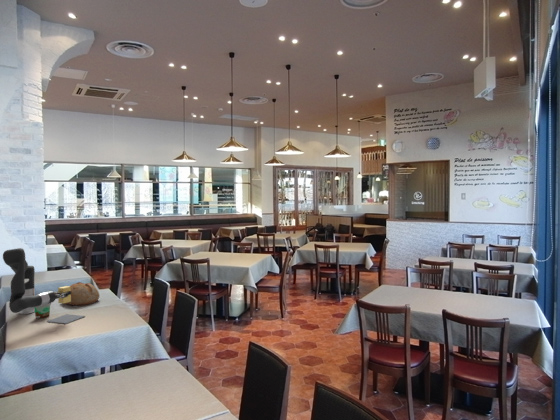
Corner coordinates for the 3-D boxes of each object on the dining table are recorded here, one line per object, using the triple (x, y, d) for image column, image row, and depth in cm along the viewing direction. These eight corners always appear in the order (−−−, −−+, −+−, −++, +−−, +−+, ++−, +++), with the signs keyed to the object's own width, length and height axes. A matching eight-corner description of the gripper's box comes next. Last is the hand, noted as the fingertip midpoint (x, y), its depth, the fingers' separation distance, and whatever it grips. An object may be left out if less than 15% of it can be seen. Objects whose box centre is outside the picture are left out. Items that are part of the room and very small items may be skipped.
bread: (55, 304, 295) (54, 284, 294) (81, 297, 316) (81, 279, 316) (79, 307, 284) (78, 287, 284) (105, 300, 305) (104, 281, 305)
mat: (46, 322, 251) (46, 321, 251) (66, 314, 266) (66, 314, 266) (65, 324, 246) (65, 323, 246) (85, 316, 261) (85, 316, 261)
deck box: (58, 302, 253) (58, 287, 253) (66, 300, 258) (65, 286, 258) (63, 303, 251) (63, 288, 251) (71, 301, 257) (70, 286, 257)
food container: (41, 319, 256) (41, 305, 255) (33, 319, 257) (33, 304, 257) (55, 314, 268) (55, 300, 267) (48, 314, 269) (48, 299, 269)
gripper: (53, 293, 239) (76, 287, 255) (36, 291, 244) (59, 285, 260) (53, 305, 239) (76, 298, 255) (36, 303, 244) (60, 296, 260)
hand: (67, 292), depth 257 cm, fingers closed on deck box, 4 cm apart
